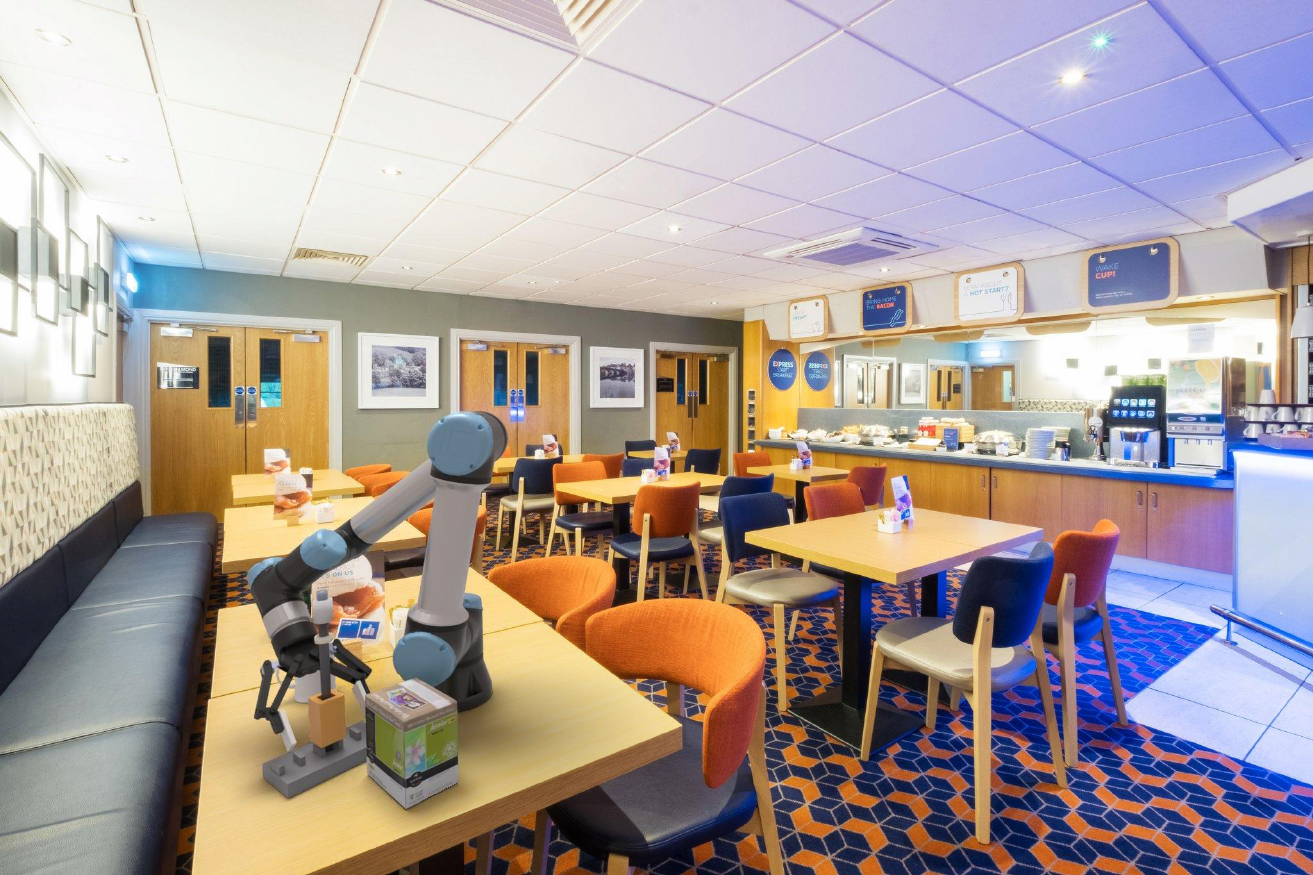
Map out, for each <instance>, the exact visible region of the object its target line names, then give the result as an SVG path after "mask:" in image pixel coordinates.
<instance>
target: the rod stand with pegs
mask: <svg viewBox="0 0 1313 875" xmlns="http://www.w3.org/2000/svg"><path fill="white" fill-rule="evenodd" d="M328 590H329V589H320V590H317V591H316V597H315V598H313V599H311V607H312V621H313V623H314V625H318V635H316V636H315V637H314V641H315V644H319V654H320V679H321V700H322V701H323V700H326V699H329V698H331V677H330V652H329V642H331V641H333V638H334V633H333V632H329V630H330V629H329V628H330V627H329V623H330V622H332V621H334V606H333V604H334V602H333V597H332V596H330V595H329V591H328ZM366 762H367V748H366V721H364V720H360V721H357V722H356V723H354V724H351V725H349V726H346V738H344V739H341V740H339V741H337V742H335V743H332V744H330V745H328V746H325V747H323V748H320V747H319V746H317V745H316V744H314V743H313V742H311V741H310V742H309V743H307V744H305V745H302V746H300V747H298V748H296V749H293V750H291V751H289V752H287V753H284V754H281V755H280V756H276V757H274V758H272V759H269V760H268V761H266V762H265V761H264V762H262V764H261V765H262V768H261V769H262V778H263V779H264V780H265V781H266V782H268V783H269V784H270V785H271V786H272V785H273V787H274V788H275V789H276V790H277V791H278V792H279V793H281V794H282V795H284V797H285V798H287V799H291V798H294V797H295V796H297V795H299V794H301V793H303V792H305V791H308V790H309V789H311V788H313V787H316V786H317V785H319V784H322V783H324V782H325V781H327V780H329V779H332V778H333V777H336V776H338V775H340V774H342V773H344V772H345V771H348V770H351V769H353V768H354V767H356V766H358V765H360V764H363V763H366Z"/></svg>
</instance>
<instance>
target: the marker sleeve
mask: <svg viewBox="0 0 1313 875" xmlns="http://www.w3.org/2000/svg"><path fill="white" fill-rule="evenodd" d="M345 700H346V699H345V694H343V693H341V692H339V691H338V690H337V691H336V690H334V689H331V698H329V699H326V700H323V701H322V700H321V693H319V694H317V695H314V696H311V697H308V703H307V705H308V707H307V708H308V709H307V710H308V728H309V730H308V731H309V734H308V735H309V741H310V743H311V742H313V743H314V744H316V745H317V746H319V747H320V748H323V747H325V746H328V745H330V744H332V743H335V742H337V741H339V740H341V739H344V738H346V727H347V726H346V703H345Z"/></svg>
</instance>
